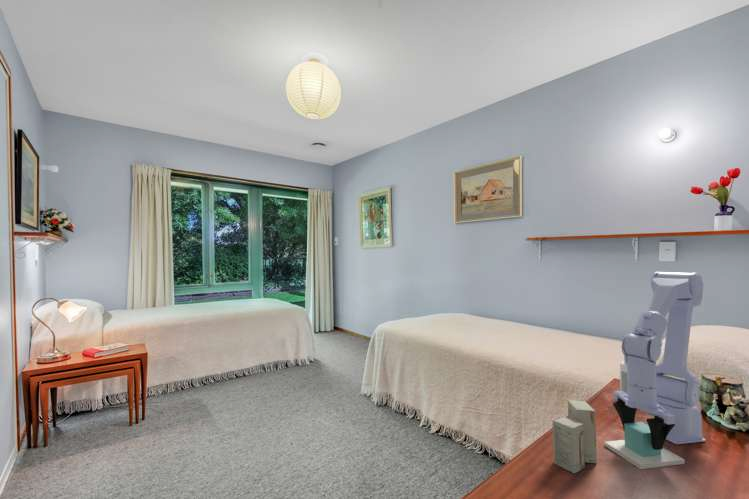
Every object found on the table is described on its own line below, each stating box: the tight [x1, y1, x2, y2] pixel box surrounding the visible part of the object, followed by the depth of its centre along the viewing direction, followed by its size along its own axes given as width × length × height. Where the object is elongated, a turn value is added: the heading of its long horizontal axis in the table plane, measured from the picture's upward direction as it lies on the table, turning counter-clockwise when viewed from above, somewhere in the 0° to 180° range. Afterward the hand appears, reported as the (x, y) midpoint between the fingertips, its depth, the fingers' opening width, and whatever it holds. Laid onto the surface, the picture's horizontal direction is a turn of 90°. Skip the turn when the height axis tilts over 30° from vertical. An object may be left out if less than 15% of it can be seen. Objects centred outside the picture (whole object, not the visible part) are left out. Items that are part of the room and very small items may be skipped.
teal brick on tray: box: [623, 421, 661, 457], centre depth 86 cm, size 5×5×6 cm
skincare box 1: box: [552, 416, 586, 474], centre depth 81 cm, size 5×4×10 cm
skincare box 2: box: [567, 399, 598, 464], centre depth 85 cm, size 6×4×12 cm
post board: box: [604, 439, 686, 470], centre depth 86 cm, size 12×10×4 cm
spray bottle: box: [619, 360, 628, 394], centre depth 120 cm, size 7×7×18 cm
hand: (642, 440), depth 86 cm, fingers open, 7 cm apart
